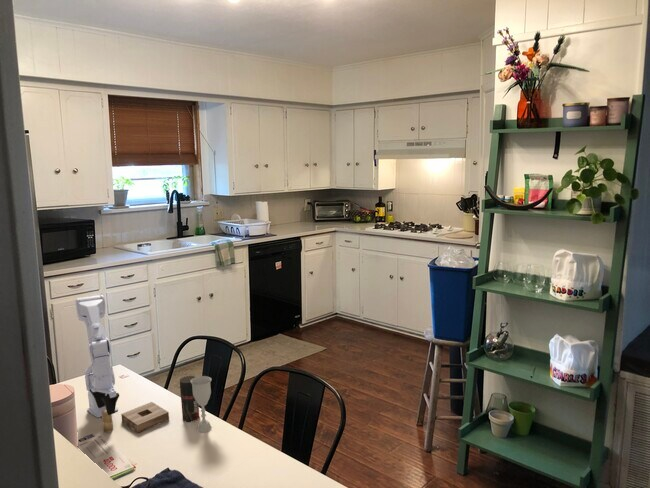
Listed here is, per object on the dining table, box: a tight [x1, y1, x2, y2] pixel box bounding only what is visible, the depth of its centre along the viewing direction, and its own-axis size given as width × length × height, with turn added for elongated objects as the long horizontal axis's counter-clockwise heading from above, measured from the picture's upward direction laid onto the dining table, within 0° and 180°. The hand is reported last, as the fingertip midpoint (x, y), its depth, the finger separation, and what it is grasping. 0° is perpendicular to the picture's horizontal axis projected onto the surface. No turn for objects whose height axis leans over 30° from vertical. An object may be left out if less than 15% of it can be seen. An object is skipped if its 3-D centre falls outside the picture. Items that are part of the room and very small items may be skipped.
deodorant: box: [179, 375, 200, 423], centre depth 190 cm, size 6×6×15 cm
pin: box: [101, 410, 114, 433], centre depth 184 cm, size 3×3×7 cm
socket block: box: [120, 401, 170, 434], centre depth 190 cm, size 12×12×3 cm
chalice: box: [190, 375, 213, 433], centre depth 183 cm, size 7×7×18 cm
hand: (106, 410), depth 183 cm, fingers open, 7 cm apart
